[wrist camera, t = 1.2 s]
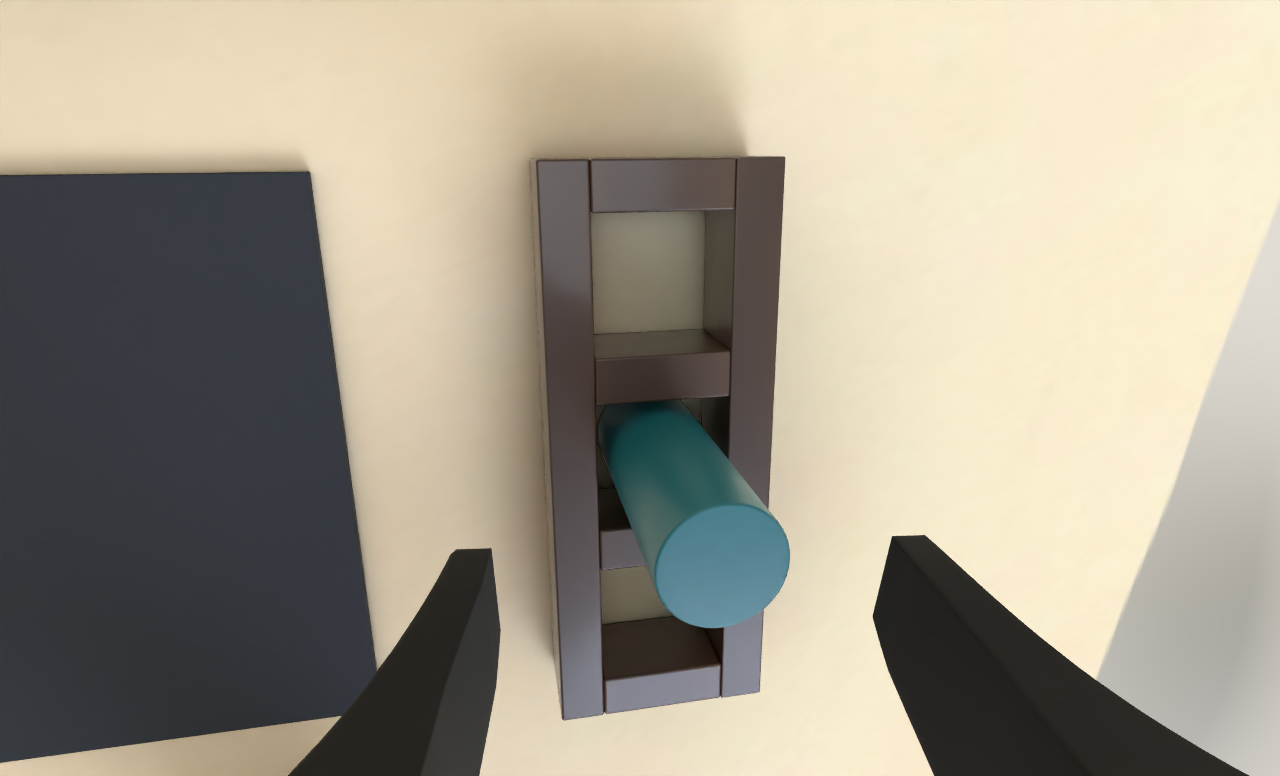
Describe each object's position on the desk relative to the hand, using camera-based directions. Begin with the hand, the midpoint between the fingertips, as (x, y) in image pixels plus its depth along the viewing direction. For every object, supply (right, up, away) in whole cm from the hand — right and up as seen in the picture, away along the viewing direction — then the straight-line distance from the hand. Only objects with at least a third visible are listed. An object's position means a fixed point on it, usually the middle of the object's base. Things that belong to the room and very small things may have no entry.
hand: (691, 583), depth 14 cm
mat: (-16, +1, +9) cm, 18 cm away
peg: (-1, +2, +12) cm, 12 cm away
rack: (-1, +2, +12) cm, 12 cm away
